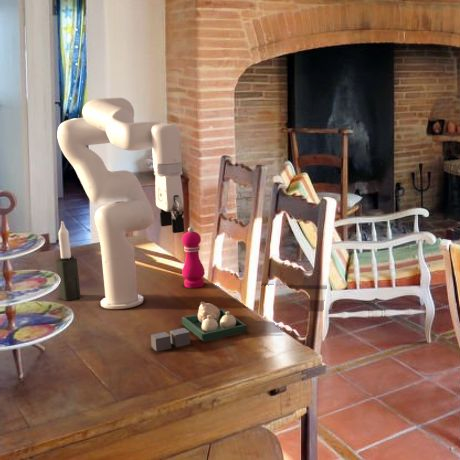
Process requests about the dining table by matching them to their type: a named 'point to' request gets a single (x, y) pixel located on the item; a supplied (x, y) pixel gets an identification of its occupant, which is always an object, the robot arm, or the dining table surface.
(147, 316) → the dining table surface
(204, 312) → the garlic bulb
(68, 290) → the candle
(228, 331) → the green tray
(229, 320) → the white bulb
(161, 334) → the grey block
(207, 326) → the white bulb
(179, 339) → the grey block
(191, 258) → the pepper mill
